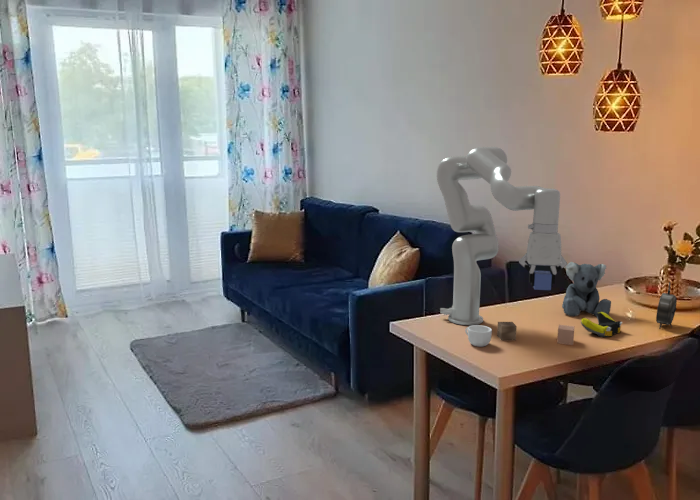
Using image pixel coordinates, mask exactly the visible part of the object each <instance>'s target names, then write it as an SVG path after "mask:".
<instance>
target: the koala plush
mask: <svg viewBox="0 0 700 500" xmlns="http://www.w3.org/2000/svg"><path fill="white" fill-rule="evenodd" d="M564 268H565V269H566V271H565V272H566V275H567V277H568V278H569V279H570V280H571V281H573V283H570V284H569V285H568V287H567V288H566V290H565V295H564V297H563V301H562V303H561V305H562V309H563V313H564V314H565V315H567V316H569V317H578V316H579V315H580V314H581V312H582V311H585V312H586V313H588V314H590V315H593V316H595V317H597V313H599V312H604V313H606V314H607V315H609V314H610V312H611V308H612V300H610V299H607V298H602V299H601V300H600V298H601V297H600V293H599V290H598V288H597V285H598V282H599V281H601V280H602V278H603V277H604V276H605V274H606V269H607V265H606V264H603V263H601V264H600V263H598V264H597V265H595V266H594V265H592V264H589V263H583V264H578V263H576V262H573V261H570V262H569V263H568V262H567V265H566V266H565V267H564ZM569 279H568V280H569ZM609 316H610V315H609Z"/></svg>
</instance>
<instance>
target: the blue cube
mask: <svg viewBox="0 0 700 500" xmlns="http://www.w3.org/2000/svg"><path fill="white" fill-rule="evenodd" d="M534 274H535V278H534V286H532V288H533V290H535V291H536V290H537V291H538V290H539V291H551V290H552V287H551V280H552V274H551V271H550V270H534Z"/></svg>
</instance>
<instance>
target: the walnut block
mask: <svg viewBox="0 0 700 500" xmlns="http://www.w3.org/2000/svg"><path fill="white" fill-rule="evenodd" d="M496 330H497V332H496V334H497V335H496V336H497V338H498V339H499V340H500V341H517V325H516V323H514V322H513V321H497V329H496Z"/></svg>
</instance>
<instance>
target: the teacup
mask: <svg viewBox="0 0 700 500" xmlns="http://www.w3.org/2000/svg"><path fill="white" fill-rule="evenodd" d="M464 331H465V334H466V335H467V339H468V342H469V343H470V344H471V345H472V346H475V347H480V348H481V347H486V346H487V345H489V343H490V342H491V340H492V334H493V330H492V328H491V327H489V326H486V325H480V324H476V325H468V326H467V327H466V328H465V330H464Z"/></svg>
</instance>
